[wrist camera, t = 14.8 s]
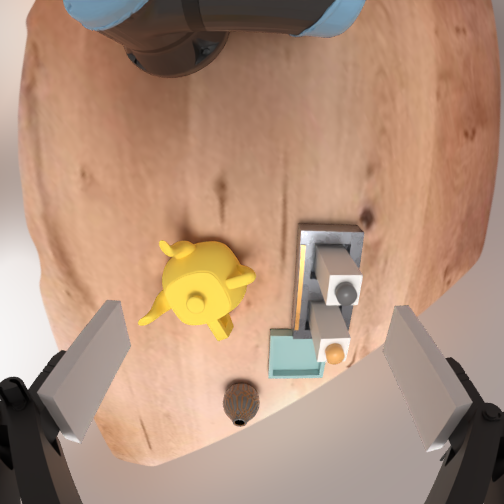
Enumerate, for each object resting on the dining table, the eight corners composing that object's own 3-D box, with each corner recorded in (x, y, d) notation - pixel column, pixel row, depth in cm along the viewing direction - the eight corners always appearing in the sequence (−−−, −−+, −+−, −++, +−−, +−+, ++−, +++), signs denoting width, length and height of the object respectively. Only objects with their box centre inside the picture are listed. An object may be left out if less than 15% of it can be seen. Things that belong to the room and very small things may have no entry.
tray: (268, 371, 55) (268, 378, 53) (270, 328, 52) (270, 335, 50) (320, 370, 55) (322, 377, 53) (328, 328, 51) (330, 335, 49)
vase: (218, 389, 58) (212, 422, 50) (240, 372, 56) (237, 406, 48) (244, 404, 59) (241, 437, 51) (266, 389, 57) (266, 422, 49)
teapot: (179, 218, 45) (158, 240, 36) (262, 251, 47) (262, 281, 37) (156, 293, 50) (136, 326, 41) (231, 321, 51) (224, 359, 42)
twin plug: (312, 267, 46) (328, 312, 34) (315, 242, 45) (332, 281, 33) (338, 267, 46) (360, 311, 34) (341, 242, 45) (366, 280, 33)
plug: (307, 317, 49) (318, 369, 38) (309, 296, 48) (322, 346, 36) (331, 317, 49) (347, 367, 38) (334, 296, 48) (353, 344, 36)
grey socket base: (291, 326, 51) (292, 340, 48) (298, 223, 45) (301, 231, 41) (342, 325, 51) (347, 338, 48) (357, 225, 44) (364, 233, 41)
